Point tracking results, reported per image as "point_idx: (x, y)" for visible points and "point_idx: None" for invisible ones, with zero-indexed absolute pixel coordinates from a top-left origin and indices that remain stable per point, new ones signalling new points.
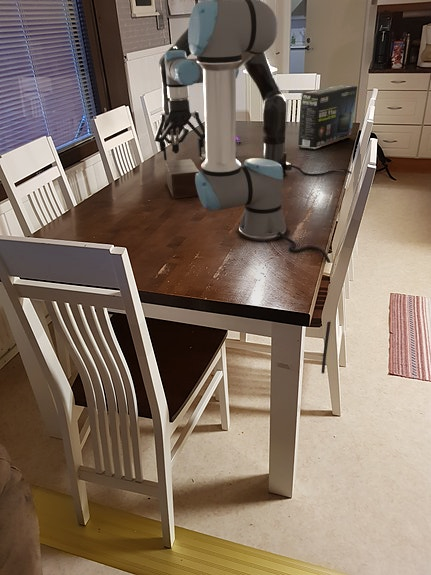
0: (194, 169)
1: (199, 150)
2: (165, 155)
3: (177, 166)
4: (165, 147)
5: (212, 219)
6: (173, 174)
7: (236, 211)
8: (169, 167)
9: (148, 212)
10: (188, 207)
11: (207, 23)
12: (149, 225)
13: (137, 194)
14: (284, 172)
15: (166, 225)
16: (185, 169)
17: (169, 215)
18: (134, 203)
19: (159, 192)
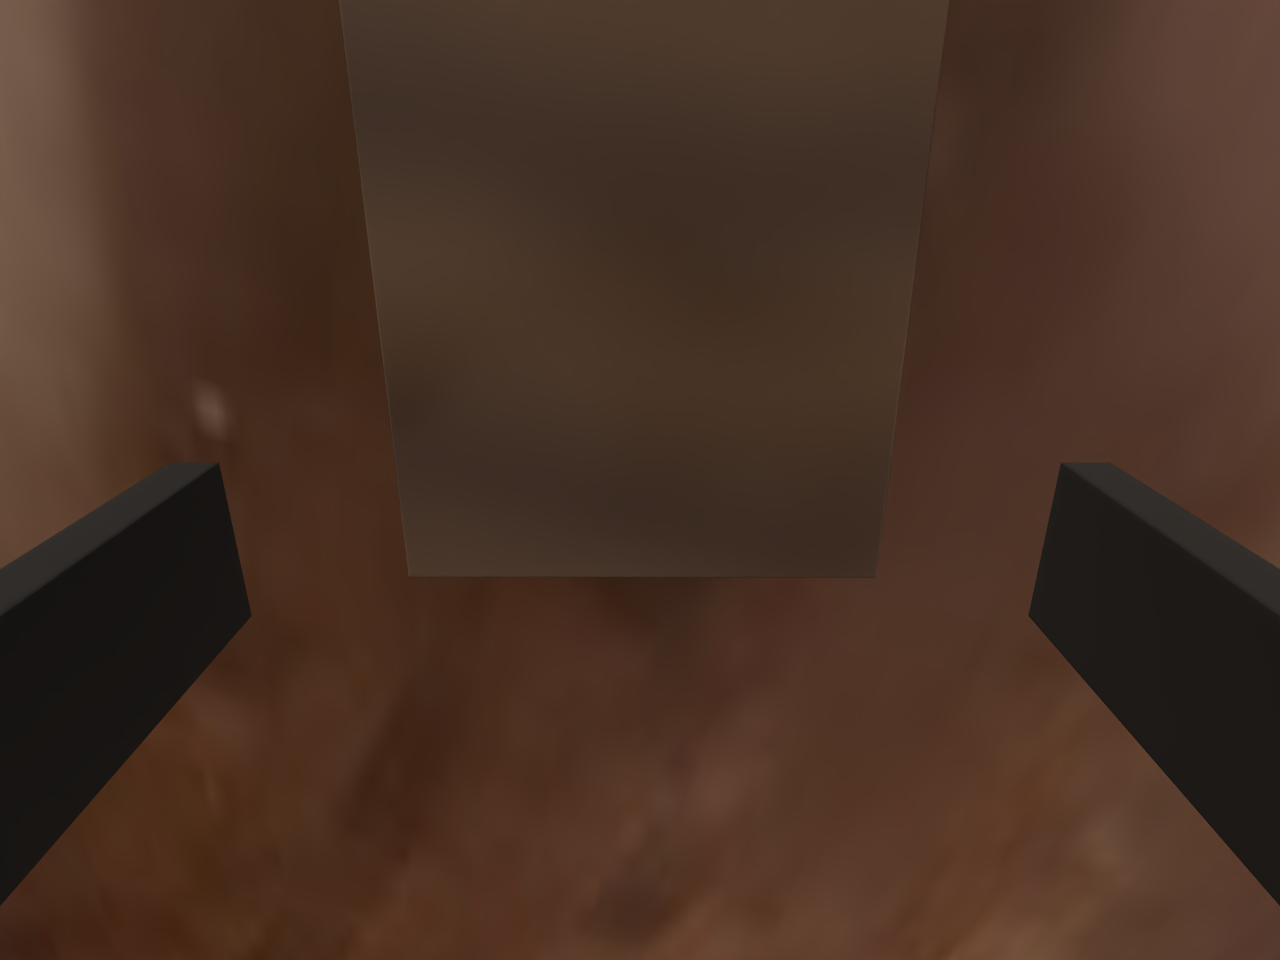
0: (834, 448)
1: (1115, 702)
2: (171, 683)
3: (561, 126)
4: (45, 852)
5: (741, 948)
6: (446, 573)
7: (970, 874)
8: (389, 142)
9: (234, 706)
10: (607, 700)
11: None
12: (265, 924)
13: (25, 134)
14: None
15: (393, 952)
16: (680, 396)
17: (423, 808)
18: (52, 446)
19: (321, 153)
